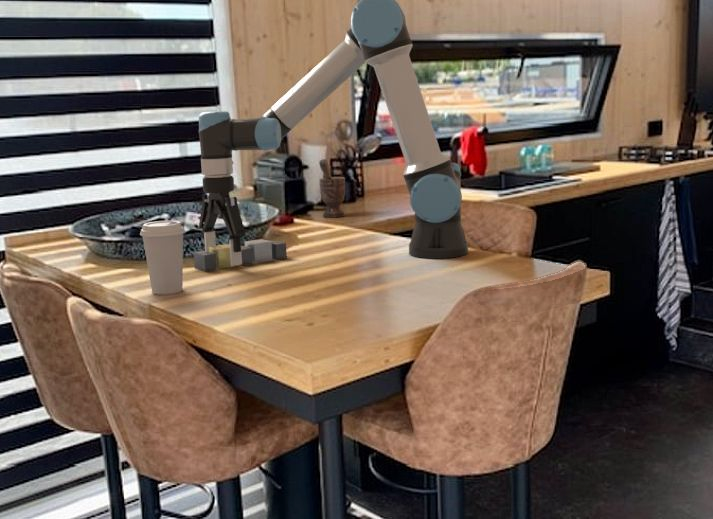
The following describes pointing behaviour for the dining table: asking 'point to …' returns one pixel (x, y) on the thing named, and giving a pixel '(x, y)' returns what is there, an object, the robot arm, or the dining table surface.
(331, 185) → the mortar and pestle
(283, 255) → the dark grey cubes
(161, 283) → the coffee cup
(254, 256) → the light gray cube
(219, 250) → the yellow cube
